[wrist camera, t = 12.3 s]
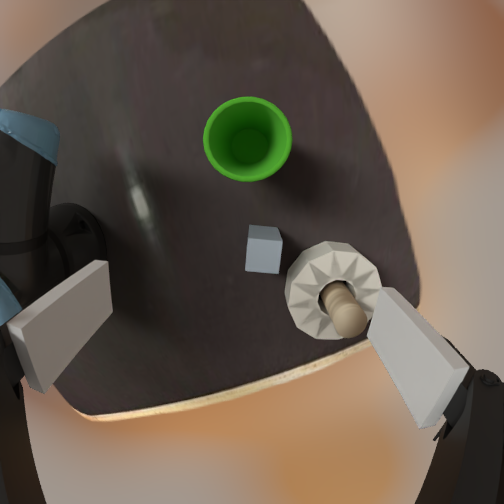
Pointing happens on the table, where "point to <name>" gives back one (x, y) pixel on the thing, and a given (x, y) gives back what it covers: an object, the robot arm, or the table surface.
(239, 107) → the cup
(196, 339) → the table surface
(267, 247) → the square peg
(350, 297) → the dowel
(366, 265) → the socket
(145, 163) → the table surface
